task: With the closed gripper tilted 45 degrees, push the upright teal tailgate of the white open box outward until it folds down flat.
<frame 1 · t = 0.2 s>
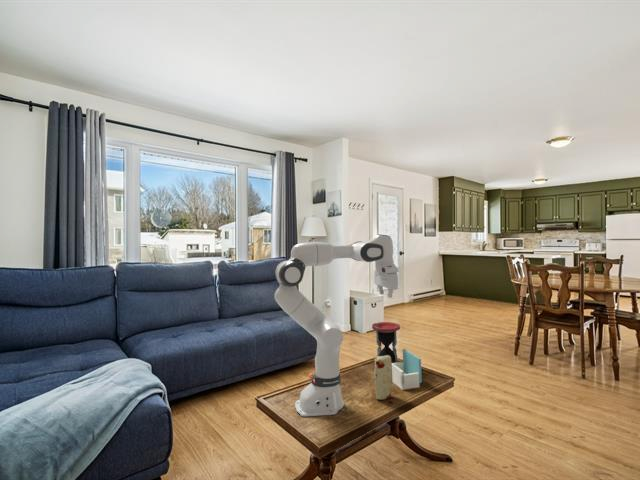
hand: (385, 295, 161), 48 cm above the table, tool pointing down, fingers open, 8 cm apart
tailgate: (412, 365, 175), point 8 cm above the table, hinge at 0.0°
food model: (384, 398, 157), on the table
hourglass: (387, 368, 194), on the table
white open box: (402, 381, 174), on the table
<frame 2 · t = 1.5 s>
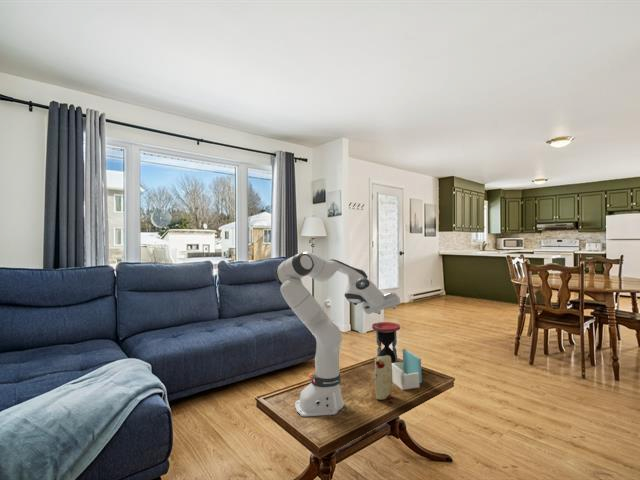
hand: (387, 310, 183), 36 cm above the table, tool tilted 55°, fingers open, 8 cm apart
nothing on the table moved.
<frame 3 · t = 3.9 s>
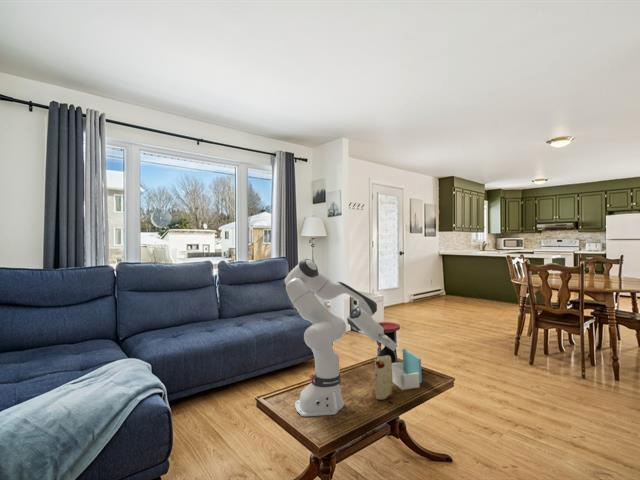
hand: (392, 348, 175), 18 cm above the table, tool tilted 45°, fingers closed
nothing on the table moved.
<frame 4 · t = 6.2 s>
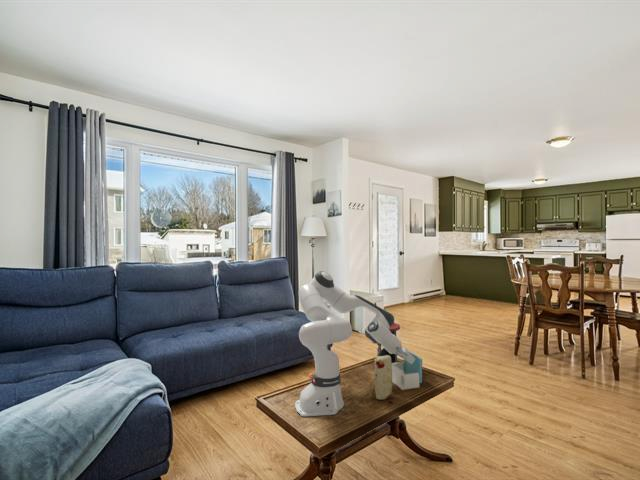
hand: (410, 361, 176), 10 cm above the table, tool tilted 45°, fingers closed, pressing on tailgate
tailgate: (413, 365, 176), point 8 cm above the table, hinge at 4.3°, touching gripper
everything else where it was.
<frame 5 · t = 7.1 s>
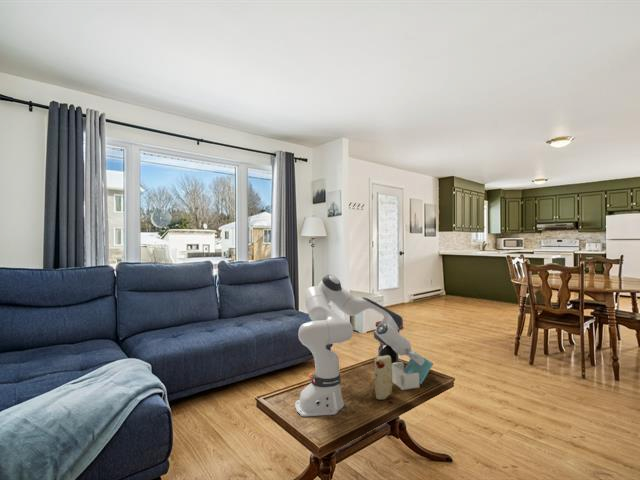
hand: (419, 362, 177), 9 cm above the table, tool tilted 45°, fingers closed, pressing on tailgate
tailgate: (418, 367, 176), point 6 cm above the table, hinge at 38.1°, touching gripper
hourglass: (387, 367, 194), on the table, touching arm
everything else where it was.
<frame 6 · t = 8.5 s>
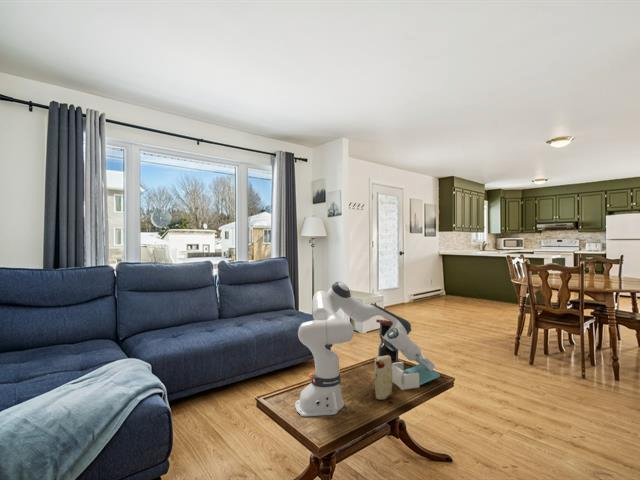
hand: (428, 367, 178), 5 cm above the table, tool tilted 45°, fingers closed
tailgate: (421, 374, 177), point 3 cm above the table, hinge at 75.8°, touching gripper
hourglass: (387, 364, 194), point 2 cm above the table
everything else where it was.
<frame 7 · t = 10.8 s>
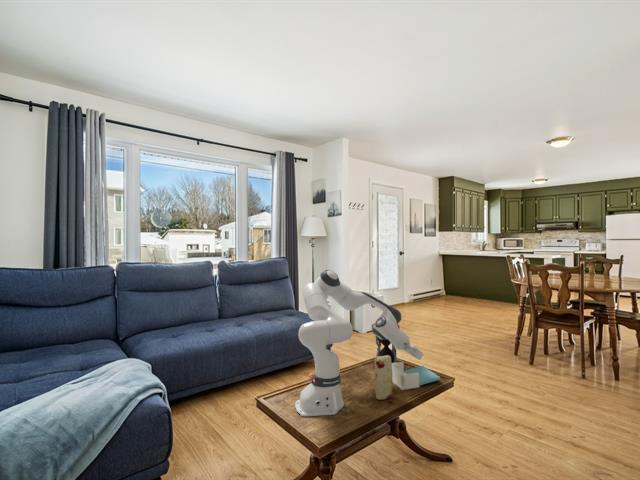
hand: (418, 357, 175), 12 cm above the table, tool tilted 45°, fingers closed
tailgate: (421, 375, 177), point 2 cm above the table, hinge at 83.5°
hourglass: (387, 368, 194), on the table
everything else where it was.
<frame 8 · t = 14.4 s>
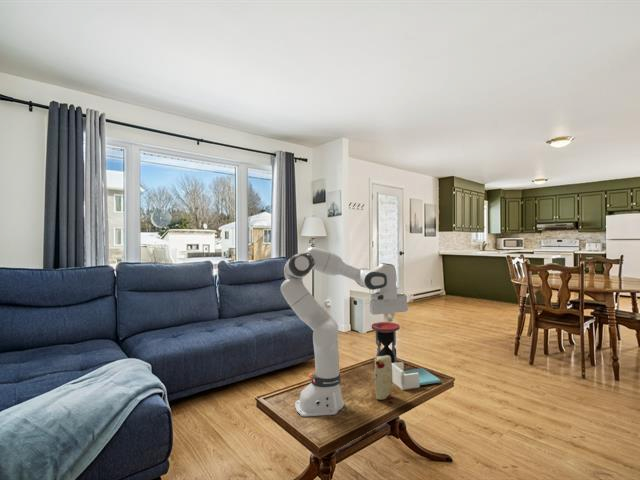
hand: (389, 321, 169), 33 cm above the table, tool pointing down, fingers closed
tailgate: (421, 376, 177), point 1 cm above the table, hinge at 90.0°
everything else where it was.
at the end: tailgate at +90° (first picture: +0°); hourglass moved 0.4 cm from its start; food model moved 0.2 cm from its start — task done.
